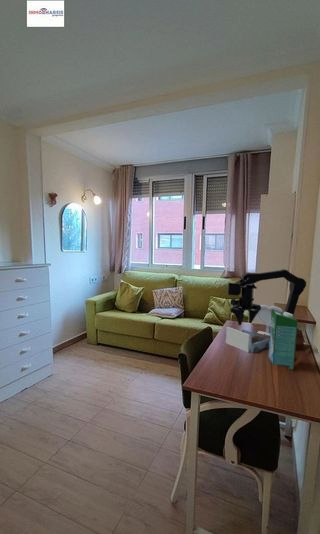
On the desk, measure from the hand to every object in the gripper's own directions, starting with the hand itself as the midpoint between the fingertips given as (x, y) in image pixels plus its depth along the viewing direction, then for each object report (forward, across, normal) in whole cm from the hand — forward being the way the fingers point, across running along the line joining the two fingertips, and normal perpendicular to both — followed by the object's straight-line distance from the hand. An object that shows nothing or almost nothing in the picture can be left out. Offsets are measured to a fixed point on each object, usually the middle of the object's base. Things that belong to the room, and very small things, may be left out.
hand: (245, 323), depth 137 cm
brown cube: (+11, -3, +6) cm, 13 cm away
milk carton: (+12, +3, +23) cm, 26 cm away
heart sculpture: (+12, -28, -4) cm, 31 cm away
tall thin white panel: (+11, +8, +2) cm, 14 cm away
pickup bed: (+12, -1, +2) cm, 12 cm away
